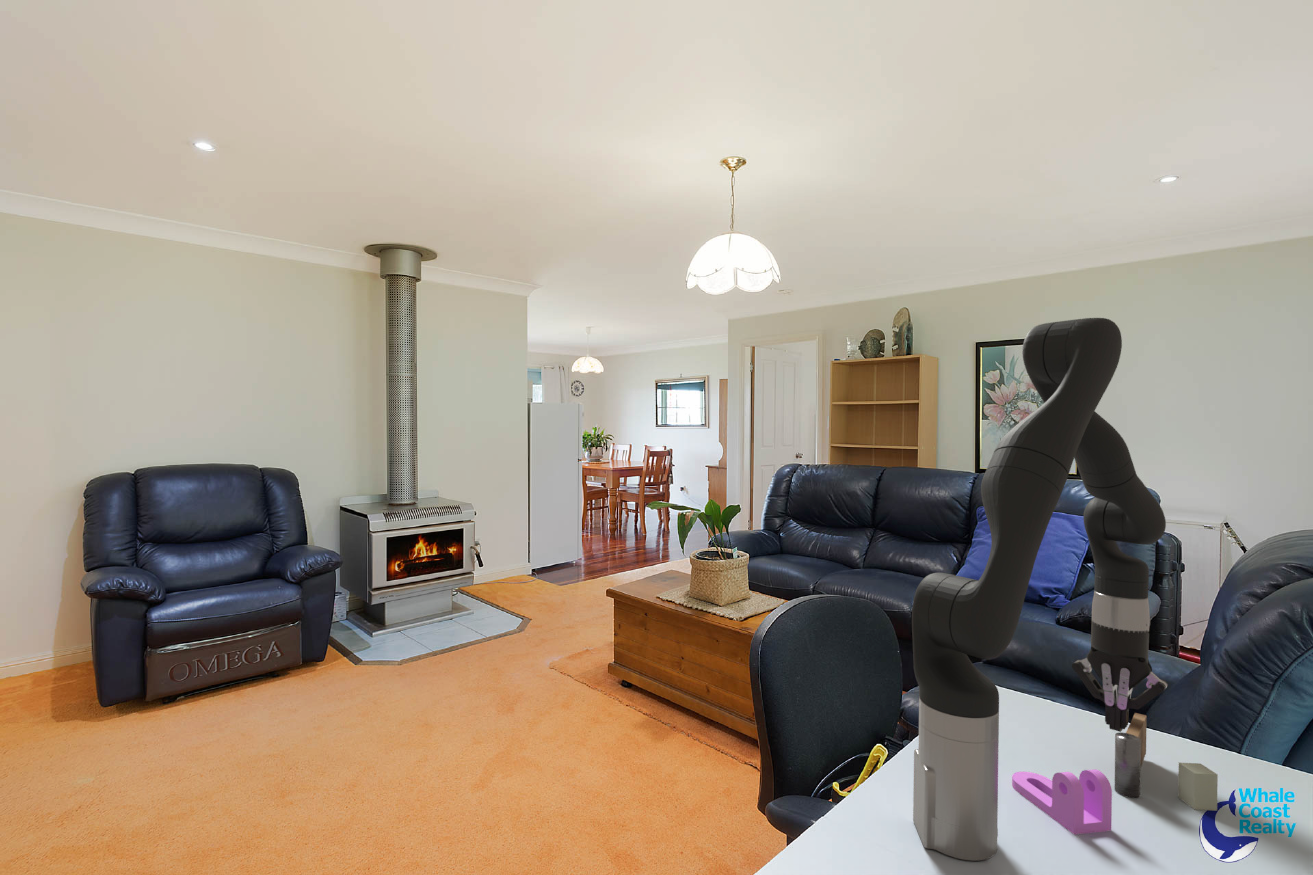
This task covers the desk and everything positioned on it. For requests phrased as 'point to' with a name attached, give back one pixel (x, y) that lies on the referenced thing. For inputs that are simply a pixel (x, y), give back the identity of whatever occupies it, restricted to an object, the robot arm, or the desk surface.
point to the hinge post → (1127, 764)
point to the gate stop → (1197, 786)
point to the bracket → (1070, 798)
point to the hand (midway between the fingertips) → (1116, 728)
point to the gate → (1139, 731)
